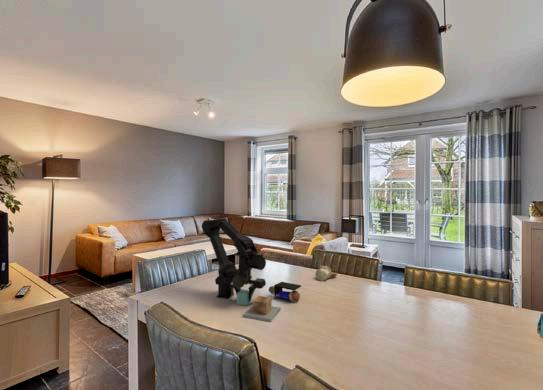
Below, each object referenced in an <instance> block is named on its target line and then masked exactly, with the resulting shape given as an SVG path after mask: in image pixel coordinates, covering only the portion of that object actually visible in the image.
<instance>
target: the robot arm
mask: <svg viewBox="0 0 543 390" xmlns="http://www.w3.org/2000/svg"><path fill="white" fill-rule="evenodd" d="M201 229H202V231H203V233H204V235H205V236H206V237H207V238H208V239H209V240H210V243H211V245H212V249H213V251H214V254H215V257H216V259H217V262H218V265H219V266H218V270H217V271H218V273H217V274H218V276H217V277H216V278H215V280H214V282H215V285H217V287H218V289H217V295H216V298H220V299H221V298H222V299H227V300H228V299H230V298H231V297H232V296H234V295H235V294H236V295H237V292H239V291H240V290H241V289H242V288H243V287H244V286H245V285H250V286H249V287H248V289H247V290H249V301H251V298H252V297H253V295H254V293H255V290H256V289H258V290H259V289H260V290H261V289H263V288H264V287H265V286H266V285H267V284H266V282H267V281H266V279H265V278H260V277H257V278H255V279H253V275H252V270H253V269H254V270H259V271H263V270H264V269H265V267H266V265H267V260H266V259H265V257H264V254H262V253H259V252H258V249H257V247H256V245H255V243H254V241H253V239H252V238H251V237H249V236H247V235H245V234H243V233H240V231H239V230H238V229H236V228H235V227H234V225H232V224H231V223H230V222H229V221H228V219H227V218H225V217H220V218H216V219H206V220H203V222H202V223H201ZM221 231H222V232H223V233H224V234H225V235H226V236H227V237H228V238H230V240H232V242H233V246H234V247H235V248H236V250H237V252H236V253H235V254H234V255H235V256H238V268H237V267H236V263H235V262H231V261H230V260H229V257H228V255H227V252H226V249H225V247H224V244H223V241H222V238H221V236H220V232H221ZM234 291H235V293H234ZM252 299H253V298H252ZM251 302H252V301H251Z"/></svg>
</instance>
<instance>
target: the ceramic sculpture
mask: <svg viewBox="0 0 543 390" xmlns="http://www.w3.org/2000/svg"><path fill="white" fill-rule="evenodd" d="M337 275H338V273H337V272H336V273H334V272H333V271H332V269H331V267H330V266H327V265H326V264H324V263H323V264H322V265H321V266H320V268H318V269H317V270H316V271H315V277H316V278H315V279H317V280H318V281H321V282H324V281H326V280H327V279H329V278H335V277H336V276H337Z"/></svg>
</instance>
